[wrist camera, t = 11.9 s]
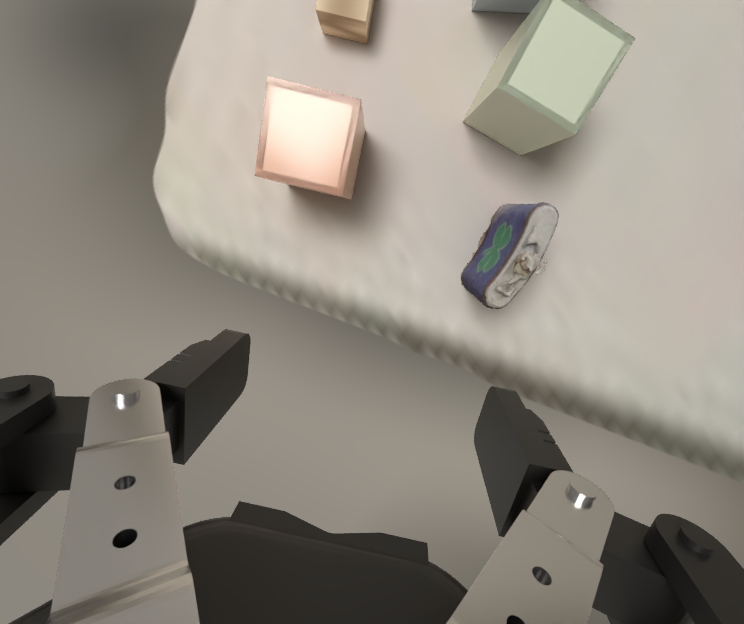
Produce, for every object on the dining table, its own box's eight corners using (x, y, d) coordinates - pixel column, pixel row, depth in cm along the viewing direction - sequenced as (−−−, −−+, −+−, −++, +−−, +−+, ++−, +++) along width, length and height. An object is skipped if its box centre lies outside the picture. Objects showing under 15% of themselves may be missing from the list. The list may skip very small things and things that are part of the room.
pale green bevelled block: (559, 88, 33) (635, 38, 23) (520, 155, 35) (576, 135, 25) (500, 51, 32) (553, -17, 23) (462, 121, 34) (497, 87, 24)
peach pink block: (365, 130, 34) (361, 99, 24) (351, 199, 36) (342, 196, 26) (298, 113, 34) (267, 76, 24) (287, 184, 35) (254, 175, 26)
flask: (500, 199, 36) (551, 196, 25) (526, 213, 36) (586, 215, 26) (454, 282, 38) (483, 310, 28) (478, 294, 38) (516, 326, 28)
